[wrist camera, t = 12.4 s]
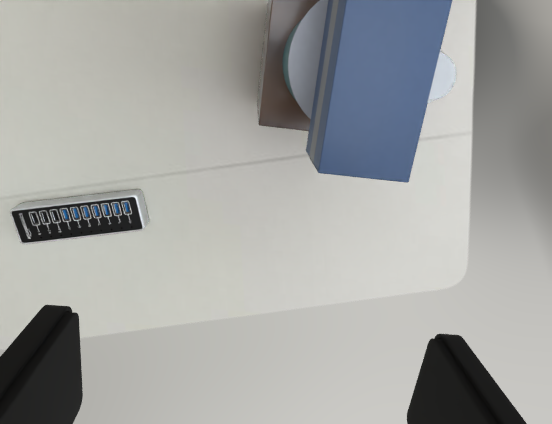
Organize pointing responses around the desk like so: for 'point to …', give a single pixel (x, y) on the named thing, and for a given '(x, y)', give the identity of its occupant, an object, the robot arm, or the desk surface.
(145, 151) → the desk surface
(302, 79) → the yogurt pot
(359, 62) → the block
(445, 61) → the pill bottle
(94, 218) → the multiport hub
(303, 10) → the walnut crate
